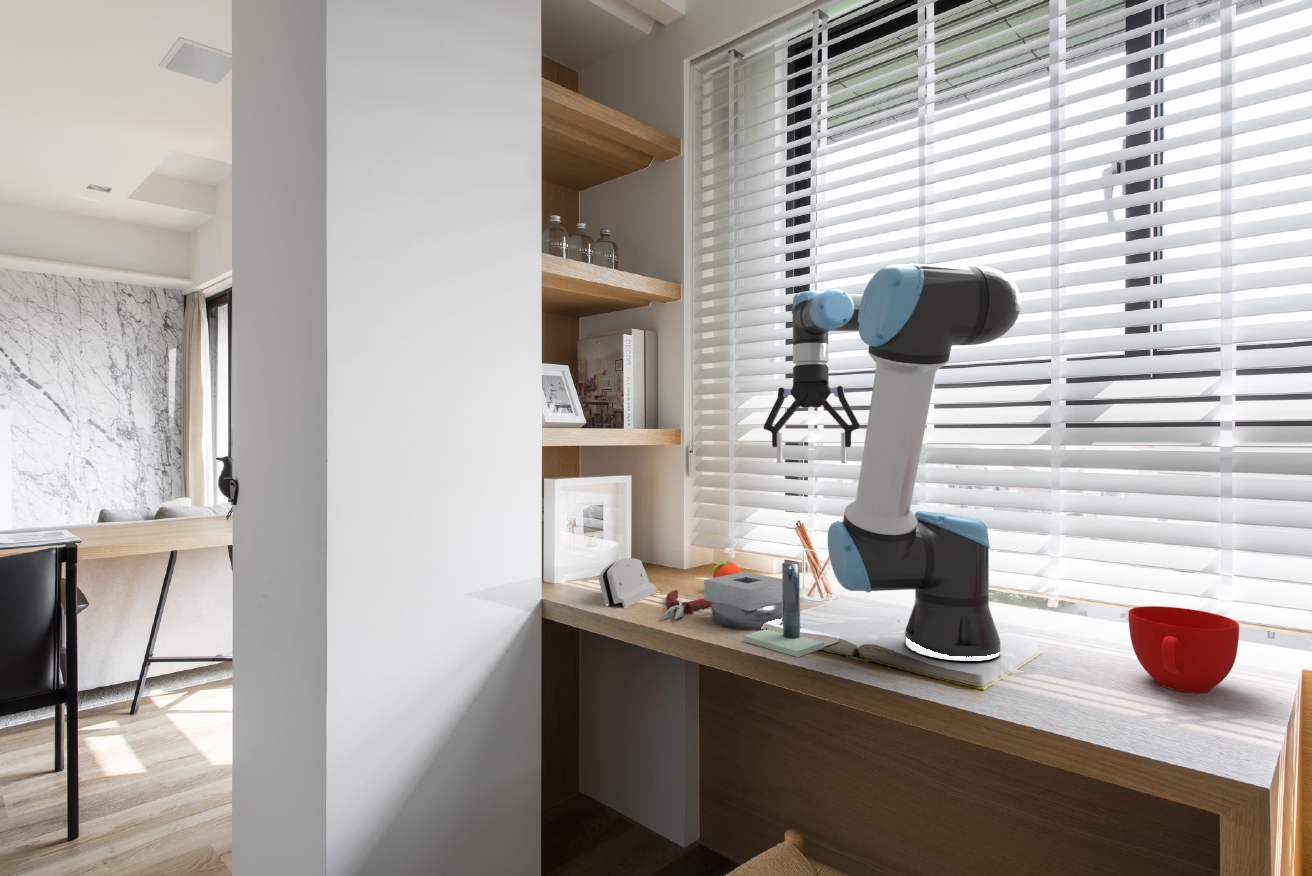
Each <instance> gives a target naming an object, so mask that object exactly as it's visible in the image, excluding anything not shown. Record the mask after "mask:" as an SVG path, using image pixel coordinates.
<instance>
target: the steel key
mask: <svg viewBox="0 0 1312 876" xmlns="http://www.w3.org/2000/svg"><path fill="white" fill-rule="evenodd" d="M781 568H782V569H781V570H782V571H781V573H782V574H781V576H782V577H781V579H782V591H783V622H782V624H783V637H785V638H789V639H796V638H800V627H801V608H800V607H801V606H800V605H801V599H800V598H801V597H800V596H801V595H800V594H801V592H800V591H801V589H800V581H801V580H800V563H799V562H795V561H786V562H785V561H784V562H782V563H781Z"/></svg>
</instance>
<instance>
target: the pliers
mask: <svg viewBox="0 0 1312 876" xmlns="http://www.w3.org/2000/svg"><path fill="white" fill-rule="evenodd" d="M678 599H679V591H678V590H677V589H674V590H671V591H670V592H668V593H667V595H666V597H665V600H666V611H665V612H664V614H662V616H661V617H660V619H661V620H666V618H667V619H669V618H668V617H671V618H672V616H673V617H674V621H676V620H678V619H680V618H682V617H683V616H684V615H685V614H684V613H687V614H688V613H689V615H694V612H697V610H698V611H701V610H700V609H702V610H706V609H705V608H707V609H710V608H712V602H711V601H707V600H704V597H703V598H698V599H695V600H689V601H683V602H681V604H680V602H679V600H678ZM709 607H710V608H709ZM673 614H676V615H673Z"/></svg>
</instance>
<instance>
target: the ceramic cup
mask: <svg viewBox="0 0 1312 876" xmlns="http://www.w3.org/2000/svg"><path fill="white" fill-rule="evenodd" d="M1127 614H1128V616H1127V617H1128V627H1129V628H1128V630H1129V635H1130V641H1131V645H1132V649H1133V651H1134V653H1135V656H1136V658H1137V660H1138V662H1139V663H1140V666H1142V668H1143V669H1144V670H1145V672H1146V673H1147V674H1148V675H1149V677H1151V678H1152V679H1153V681H1154V682H1155V683H1156V684H1157V685H1158V686H1161V687H1164V688H1166V689H1169V690H1174V691H1177V692H1178V691H1179V692H1182V693H1192V694H1205V693H1206V694H1207V693H1209V692H1210V691H1211V690H1212V689H1214V688H1215V687H1216V686H1218V685H1219V684H1220V683H1222V681H1224V679H1225V678H1227V676H1228V675H1229V674H1230V672H1231V671H1232V669H1233V666H1234V664H1235V662H1236V658H1237V653H1238V649H1239V648H1238V646H1239V640H1240V625H1239V623H1238V622H1237V621H1236V620H1234V619H1232V618H1230V617H1227V616H1224V615H1221V614H1217V613H1214V612H1207V611H1204V610H1198V609H1192V608H1184V607H1176V606H1175V607H1174V606H1163V605H1161V606H1160V605H1159V606H1157V605H1151V606H1150V605H1149V606H1147V605H1145V606H1144V605H1143V606H1136V607H1133V608H1130V609H1129V610H1128V612H1127Z"/></svg>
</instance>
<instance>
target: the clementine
mask: <svg viewBox="0 0 1312 876" xmlns="http://www.w3.org/2000/svg"><path fill="white" fill-rule="evenodd" d="M740 572H742V570H741V568H740V567H739V566H738V565H736V563H734V562H729V561H725V562H720V563H717V564H716V565H715V566H713V568H712V570H711V572H710V573H711V575H712V578H716V577H721V576H725V575H730V574H735V573H740Z"/></svg>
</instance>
